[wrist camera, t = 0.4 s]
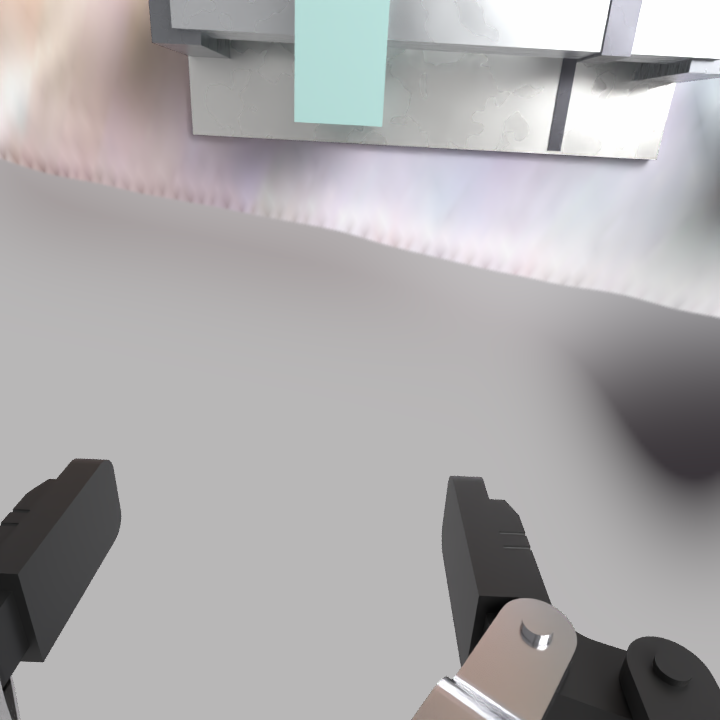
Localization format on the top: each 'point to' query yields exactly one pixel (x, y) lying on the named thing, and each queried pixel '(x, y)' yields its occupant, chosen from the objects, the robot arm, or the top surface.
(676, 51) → the grey piece
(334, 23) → the collar
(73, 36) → the top surface
